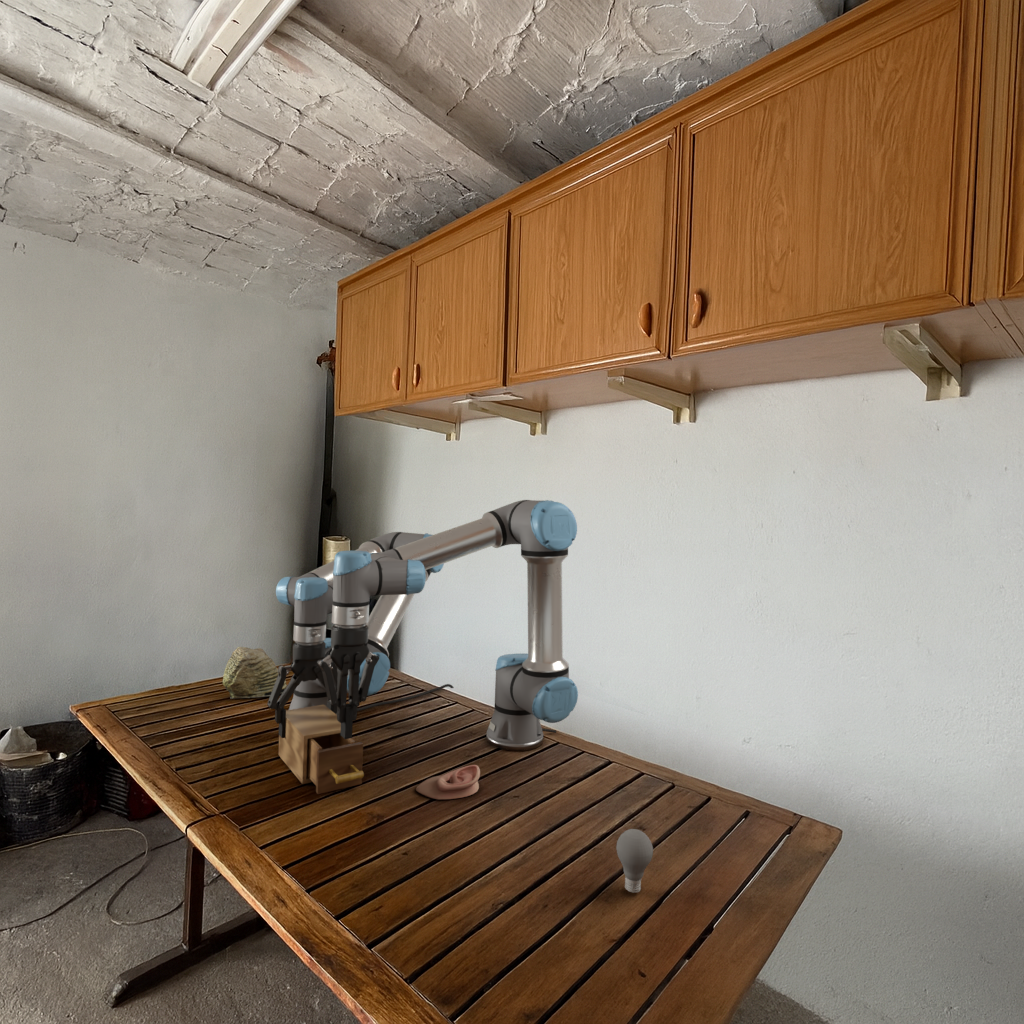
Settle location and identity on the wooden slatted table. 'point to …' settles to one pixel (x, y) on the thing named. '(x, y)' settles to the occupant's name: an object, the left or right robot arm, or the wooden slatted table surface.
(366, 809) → the wooden slatted table surface
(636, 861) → the light bulb
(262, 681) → the fossil
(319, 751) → the drawer
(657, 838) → the wooden slatted table surface
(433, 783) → the anatomical model
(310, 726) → the cabinet
